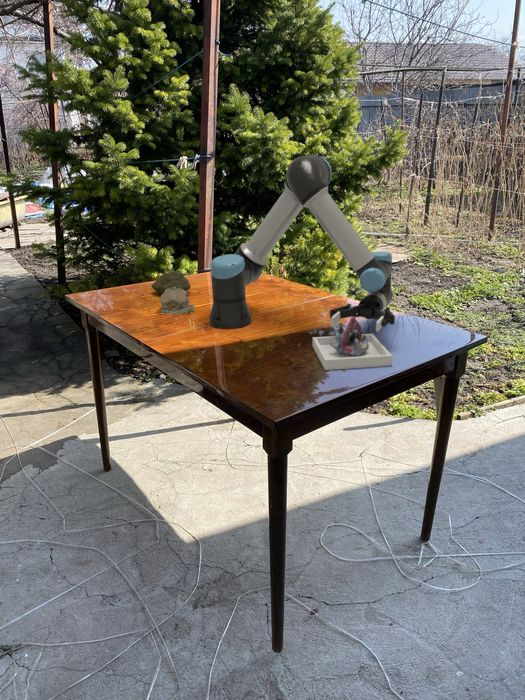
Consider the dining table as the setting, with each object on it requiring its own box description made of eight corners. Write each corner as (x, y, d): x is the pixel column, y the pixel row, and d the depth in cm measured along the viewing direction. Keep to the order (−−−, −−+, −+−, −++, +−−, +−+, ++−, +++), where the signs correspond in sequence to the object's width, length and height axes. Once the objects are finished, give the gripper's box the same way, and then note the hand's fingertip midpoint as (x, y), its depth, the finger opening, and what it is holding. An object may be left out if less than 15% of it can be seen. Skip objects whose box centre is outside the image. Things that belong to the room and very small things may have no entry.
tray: (325, 370, 147) (325, 360, 146) (312, 346, 164) (312, 337, 163) (391, 365, 148) (392, 355, 147) (372, 342, 166) (372, 333, 165)
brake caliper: (362, 354, 148) (340, 318, 149) (335, 369, 155) (315, 334, 156) (381, 343, 156) (361, 308, 157) (355, 358, 163) (335, 324, 164)
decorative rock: (162, 300, 221) (159, 277, 217) (149, 292, 234) (147, 270, 230) (194, 294, 228) (193, 272, 224) (181, 287, 241) (179, 266, 237)
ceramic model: (155, 316, 201) (152, 290, 197) (163, 307, 211) (160, 283, 208) (191, 315, 199) (188, 290, 196) (197, 307, 210) (195, 283, 206)
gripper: (410, 320, 170) (396, 341, 152) (335, 312, 180) (314, 331, 162) (411, 297, 167) (397, 316, 149) (336, 291, 177) (314, 308, 159)
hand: (354, 324), depth 155 cm, fingers open, 13 cm apart
